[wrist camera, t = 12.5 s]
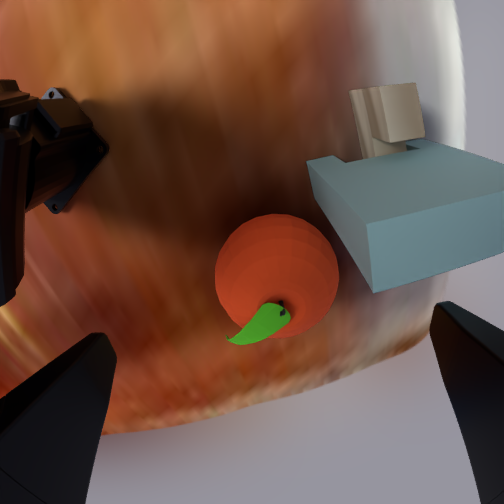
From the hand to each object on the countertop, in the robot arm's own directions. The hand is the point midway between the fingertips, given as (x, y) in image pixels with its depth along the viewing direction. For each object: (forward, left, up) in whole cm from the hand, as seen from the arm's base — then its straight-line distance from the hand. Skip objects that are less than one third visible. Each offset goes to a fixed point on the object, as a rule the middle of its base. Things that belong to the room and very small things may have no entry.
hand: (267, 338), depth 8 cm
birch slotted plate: (+7, -3, -13) cm, 15 cm away
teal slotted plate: (+7, -3, -13) cm, 15 cm away
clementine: (-2, -4, -13) cm, 14 cm away
